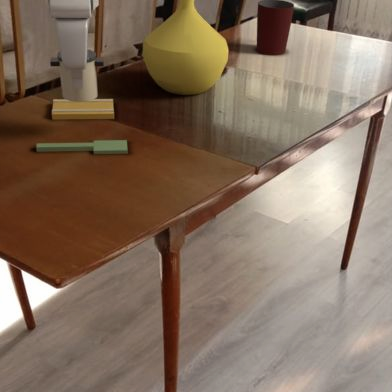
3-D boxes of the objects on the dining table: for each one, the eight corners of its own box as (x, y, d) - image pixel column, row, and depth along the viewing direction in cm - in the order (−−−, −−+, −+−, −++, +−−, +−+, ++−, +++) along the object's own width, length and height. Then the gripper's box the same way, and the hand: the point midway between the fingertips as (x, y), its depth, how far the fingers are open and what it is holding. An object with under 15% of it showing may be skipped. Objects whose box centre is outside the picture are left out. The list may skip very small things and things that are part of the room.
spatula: (36, 155, 110) (35, 150, 109) (37, 145, 113) (37, 140, 113) (127, 154, 112) (127, 148, 111) (126, 144, 115) (126, 138, 114)
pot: (53, 102, 111) (48, 53, 106) (55, 89, 116) (50, 41, 111) (105, 102, 112) (103, 53, 107) (105, 88, 117) (102, 41, 112)
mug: (261, 41, 168) (266, -5, 161) (293, 46, 166) (299, -1, 159) (249, 53, 159) (254, 5, 152) (283, 58, 157) (289, 10, 150)
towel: (52, 120, 122) (51, 112, 121) (54, 105, 128) (53, 98, 127) (114, 119, 124) (113, 112, 123) (113, 104, 130) (112, 97, 129)
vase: (126, 84, 139) (123, -14, 127) (189, 69, 149) (191, -23, 136) (179, 108, 129) (181, 5, 117) (243, 91, 138) (251, -7, 126)
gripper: (54, -21, 110) (62, 61, 120) (48, 8, 95) (58, 100, 104) (90, -21, 111) (96, 61, 120) (90, 9, 96) (96, 100, 105)
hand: (78, 80), depth 112 cm, fingers closed on pot, 6 cm apart
